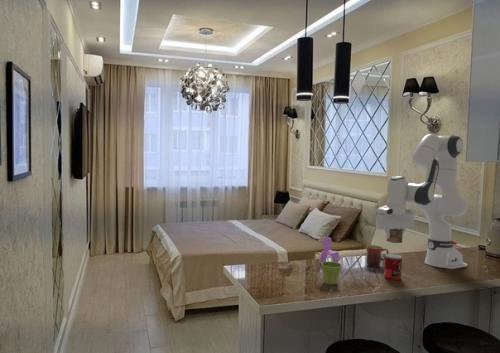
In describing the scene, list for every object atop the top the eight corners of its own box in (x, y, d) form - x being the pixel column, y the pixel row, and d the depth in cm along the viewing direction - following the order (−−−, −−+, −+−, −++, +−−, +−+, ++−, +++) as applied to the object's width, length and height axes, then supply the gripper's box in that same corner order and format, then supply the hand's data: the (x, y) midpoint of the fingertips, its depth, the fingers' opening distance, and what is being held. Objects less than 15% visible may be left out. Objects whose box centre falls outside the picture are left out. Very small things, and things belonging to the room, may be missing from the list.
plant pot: (337, 287, 174) (337, 268, 173) (317, 283, 179) (317, 264, 178) (343, 282, 182) (344, 263, 181) (324, 278, 187) (325, 260, 186)
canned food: (393, 281, 185) (394, 258, 185) (380, 276, 192) (381, 254, 192) (404, 279, 189) (405, 256, 188) (391, 274, 196) (392, 253, 195)
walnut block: (395, 240, 193) (395, 228, 192) (402, 242, 188) (402, 230, 188) (386, 240, 191) (387, 228, 191) (393, 243, 186) (393, 230, 186)
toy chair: (330, 268, 204) (331, 239, 203) (317, 264, 211) (318, 237, 210) (340, 265, 210) (341, 238, 209) (327, 261, 216) (328, 235, 215)
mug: (366, 267, 207) (367, 248, 207) (363, 263, 216) (364, 244, 215) (389, 268, 206) (390, 249, 206) (385, 264, 215) (386, 245, 214)
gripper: (409, 208, 195) (407, 235, 196) (374, 209, 189) (372, 237, 189) (418, 210, 189) (416, 238, 190) (382, 210, 183) (380, 240, 183)
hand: (394, 237), depth 189 cm, fingers closed on walnut block, 5 cm apart
